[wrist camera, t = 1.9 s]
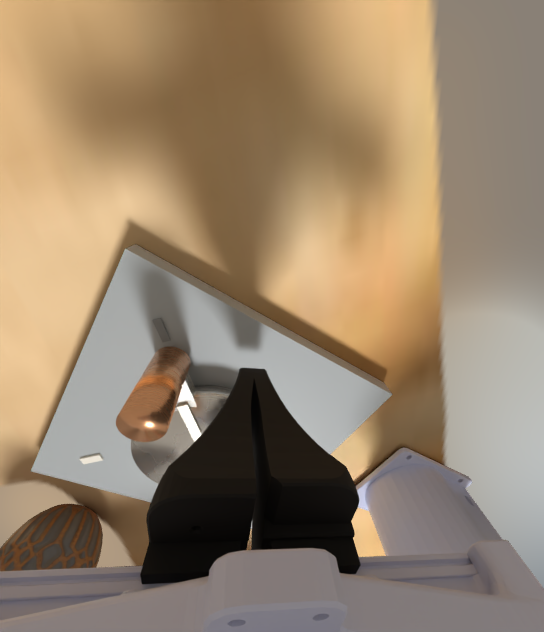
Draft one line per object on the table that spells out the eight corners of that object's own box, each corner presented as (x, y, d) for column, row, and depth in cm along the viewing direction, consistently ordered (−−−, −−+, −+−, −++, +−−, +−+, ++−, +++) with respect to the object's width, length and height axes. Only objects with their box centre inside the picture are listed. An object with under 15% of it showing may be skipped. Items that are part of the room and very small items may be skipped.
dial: (285, 465, 19) (295, 538, 15) (169, 489, 19) (147, 568, 15) (246, 327, 14) (245, 382, 10) (86, 362, 14) (19, 431, 10)
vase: (10, 500, 21) (-139, 690, 13) (96, 486, 21) (0, 667, 13) (53, 542, 24) (-46, 717, 16) (127, 531, 24) (66, 699, 16)
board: (384, 382, 18) (393, 395, 17) (252, 513, 24) (252, 530, 23) (135, 243, 13) (124, 249, 12) (43, 455, 19) (29, 472, 17)
